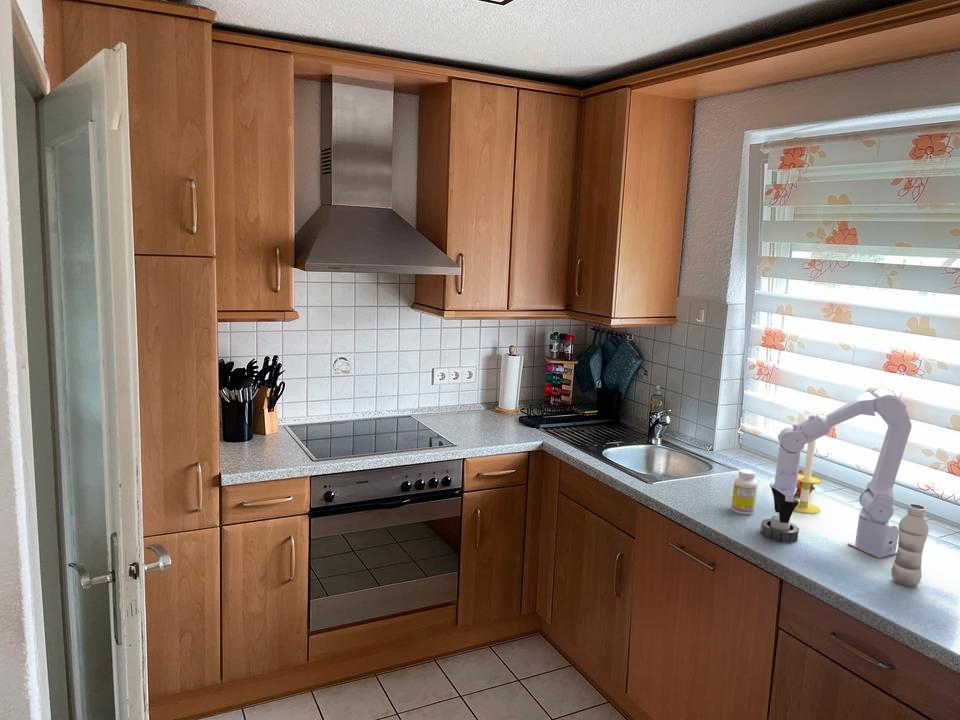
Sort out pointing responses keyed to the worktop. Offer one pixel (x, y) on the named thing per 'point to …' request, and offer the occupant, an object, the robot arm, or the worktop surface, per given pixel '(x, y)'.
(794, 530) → the segmented grey ring
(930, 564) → the worktop surface
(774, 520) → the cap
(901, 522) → the plastic bottle
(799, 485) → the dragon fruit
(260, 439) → the worktop surface
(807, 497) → the candle
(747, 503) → the supplement bottle
